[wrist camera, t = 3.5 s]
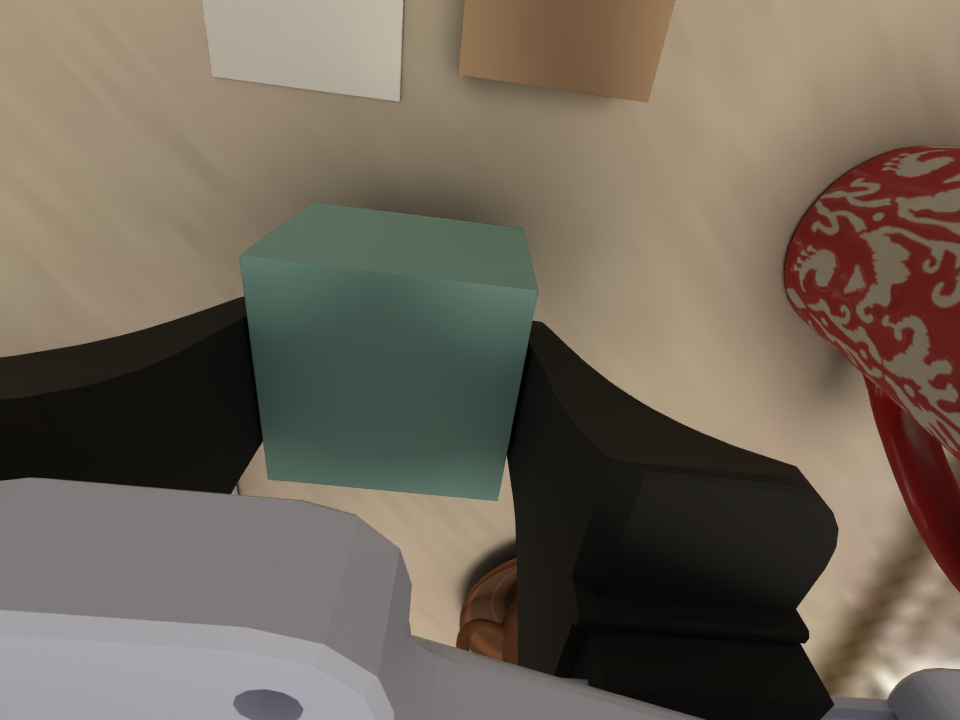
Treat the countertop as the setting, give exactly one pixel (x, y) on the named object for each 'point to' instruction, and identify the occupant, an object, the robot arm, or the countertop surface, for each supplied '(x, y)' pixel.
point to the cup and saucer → (492, 615)
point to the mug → (895, 316)
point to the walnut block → (566, 44)
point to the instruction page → (309, 44)
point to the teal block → (388, 348)
